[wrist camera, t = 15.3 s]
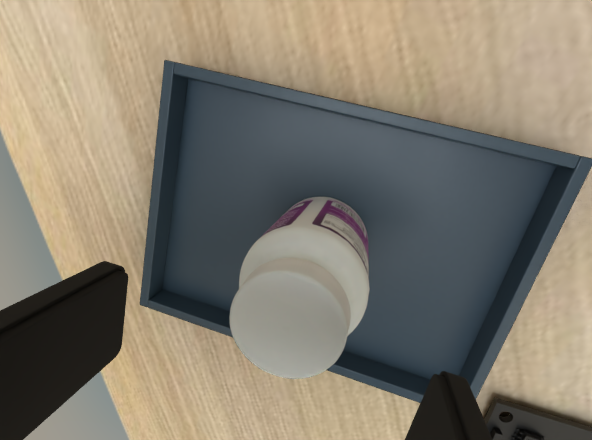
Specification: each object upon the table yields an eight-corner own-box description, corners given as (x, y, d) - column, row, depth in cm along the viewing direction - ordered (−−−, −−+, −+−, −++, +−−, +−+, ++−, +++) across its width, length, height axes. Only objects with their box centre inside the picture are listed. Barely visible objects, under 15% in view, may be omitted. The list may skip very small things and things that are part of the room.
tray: (158, 290, 24) (139, 305, 22) (184, 66, 20) (163, 59, 18) (457, 392, 21) (466, 419, 19) (569, 156, 17) (596, 159, 15)
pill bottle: (286, 281, 21) (222, 395, 12) (273, 199, 20) (192, 256, 11) (373, 278, 20) (376, 402, 11) (365, 190, 19) (360, 245, 10)
